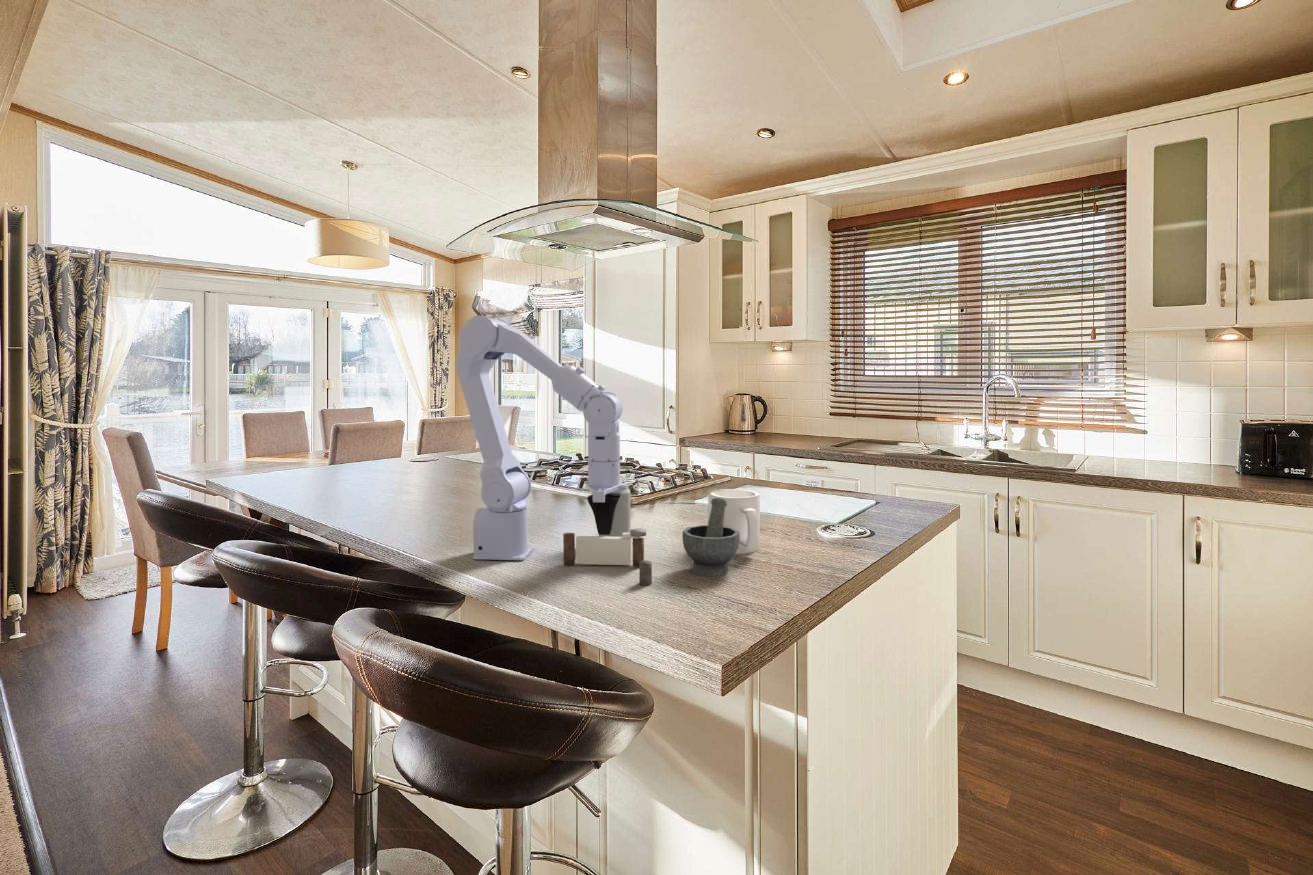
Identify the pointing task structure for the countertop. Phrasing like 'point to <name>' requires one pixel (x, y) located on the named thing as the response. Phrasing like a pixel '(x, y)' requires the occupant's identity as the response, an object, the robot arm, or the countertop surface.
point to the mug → (740, 515)
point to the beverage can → (621, 514)
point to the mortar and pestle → (711, 542)
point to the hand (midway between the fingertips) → (604, 533)
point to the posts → (638, 557)
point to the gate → (606, 548)
